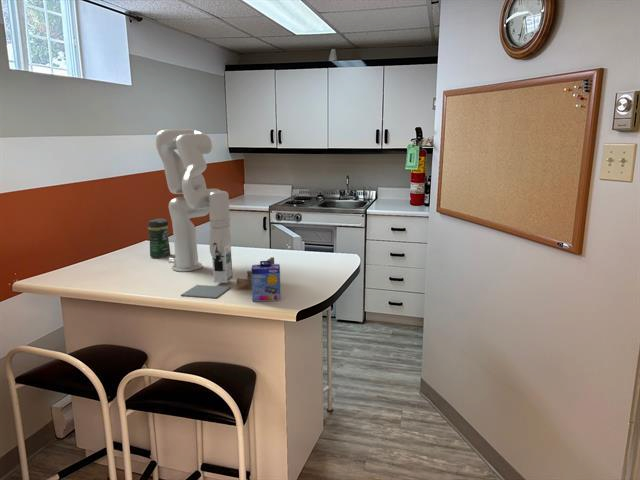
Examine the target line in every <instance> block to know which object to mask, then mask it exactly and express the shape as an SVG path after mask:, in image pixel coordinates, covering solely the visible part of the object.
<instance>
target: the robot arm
mask: <svg viewBox="0 0 640 480" xmlns="http://www.w3.org/2000/svg"><path fill="white" fill-rule="evenodd" d="M155 147H156V150H157V153H158V155H159V158H160V159H161V162H162V164H163V168H164V169H163V170H164V175H165V177H166V178H165V179H166V183H167V188H168V190H169V192H170V193H171V194H173V195H183V196H178V197H174V198H173V199H170V201H169V203H168V211H169V215H170V220H171V225H172V226H171V227H172V233H173V234H172V235H173V242H174V243H173V245H174V257H169V258H168V264H173V265H172V270H173V271H175V272H192V271H197V270H199V269H201V268H202V267H203V263H201V262H199V256H198V243H197V242H198V240H197V230H196V227H195V225H194V223H193V222H192V221H191V220H190V219H192V218H200V217H205V216H207V215H208V214H209V227H210V230H209V253H210V255H211V258H212V257H213V259H214V267H215V271H223V263H222V261H221V259H222V253H223V249H224V247H225V246H227V245H229V244H230V245H231V246H232V239H231V237H232V236H231V219H230V218H231V217H230V214H231V213H230V199H229V198H230V197H229V192H228V191H225V190H221V189H219V188H207V184H206V179H205V177H204V175H203V172H205V171H206V169H207V168H208V167H207V166H208V165H207V162H206V159H205V157H204V155H207V154H210V153H211V152H212V150H213V142H212V140H211V138H210V136H208V134H206V133H204V132H201V131H199V130H196V129H191V128H188V129H187V128H170V129H169V128H168V129H163V130H160V131H158V132H157V134H156V135H155ZM176 150H177V152H176ZM216 252H219V253H216ZM217 255H219V257H218V256H217Z"/></svg>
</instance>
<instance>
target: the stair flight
mask: <svg viewBox="0 0 640 480" xmlns="http://www.w3.org/2000/svg"><path fill="white" fill-rule="evenodd" d="M266 261H270V262H271V264H275V257H274V256H273V257H270V258H269V259H267V260H266ZM262 264H269V263H267V262H264V263H262ZM236 290H242V291H243V290H245V291H252V271H251V270H247V271H246V278H243V277H242V278H240V277H237V278H236Z"/></svg>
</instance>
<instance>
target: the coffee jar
mask: <svg viewBox="0 0 640 480" xmlns="http://www.w3.org/2000/svg"><path fill="white" fill-rule="evenodd" d="M168 223H169V222H168V219H166V218H161V217H160V218H155V219H151V220H149V221H148V222H147V230H148V235H149V256H150V258H153V259H161V258H162V257H163V258H165V256H166V257H168V256H170V255H171V248H170V239H169V234H168V233H169V231H168V230H169V224H168Z"/></svg>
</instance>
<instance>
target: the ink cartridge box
mask: <svg viewBox="0 0 640 480" xmlns="http://www.w3.org/2000/svg"><path fill="white" fill-rule="evenodd" d="M264 262H267V263H269V264H263V263H264ZM280 267H281V265H280V263H279V264H278V263H274V264H271V262H270V261H267V260H259V264H252V265H251V270H250V271H252V290H251V291H252V292H251V293H252V302H253V303H254V302H256V303H257V302H259V303H260V302H280V301H281V298H282V297H281V296H282V294H281V293H282V291H281V268H280ZM279 300H280V301H279Z"/></svg>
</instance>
